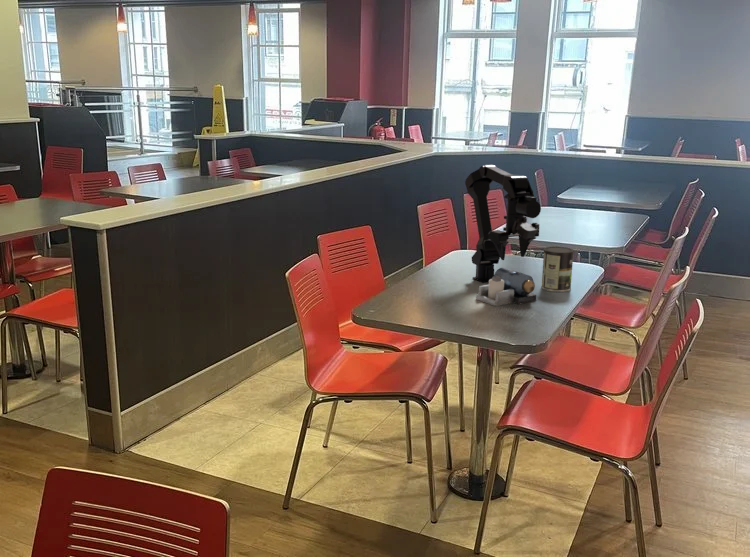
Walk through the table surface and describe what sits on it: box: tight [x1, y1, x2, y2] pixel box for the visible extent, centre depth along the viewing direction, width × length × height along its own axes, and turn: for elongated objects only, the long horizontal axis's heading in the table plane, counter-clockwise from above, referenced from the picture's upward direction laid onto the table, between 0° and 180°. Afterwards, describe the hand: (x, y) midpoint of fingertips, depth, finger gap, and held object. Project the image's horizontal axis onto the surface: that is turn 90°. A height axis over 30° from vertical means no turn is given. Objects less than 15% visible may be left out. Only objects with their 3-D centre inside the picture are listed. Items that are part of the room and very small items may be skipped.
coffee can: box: [541, 246, 575, 293], centre depth 245 cm, size 10×10×14 cm
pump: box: [488, 276, 504, 300], centre depth 230 cm, size 5×5×8 cm
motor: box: [475, 267, 537, 307], centre depth 232 cm, size 15×16×9 cm
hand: (512, 258), depth 238 cm, fingers open, 9 cm apart
